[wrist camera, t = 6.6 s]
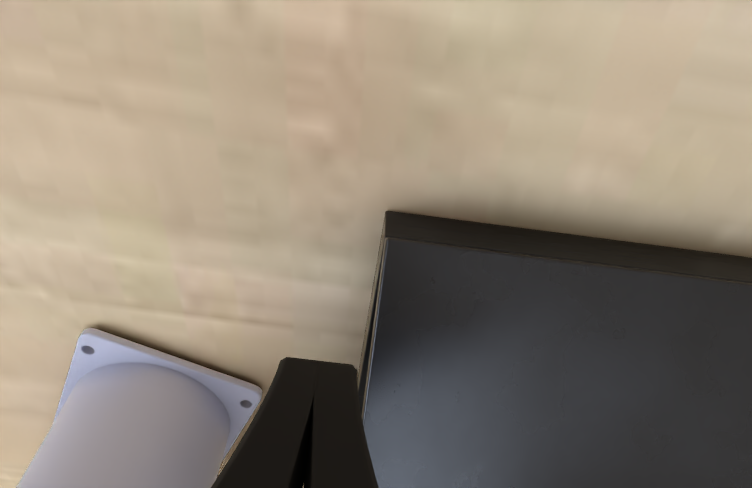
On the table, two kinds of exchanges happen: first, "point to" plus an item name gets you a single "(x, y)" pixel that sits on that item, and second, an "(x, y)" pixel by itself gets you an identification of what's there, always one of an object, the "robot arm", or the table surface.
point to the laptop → (545, 255)
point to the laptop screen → (555, 373)
